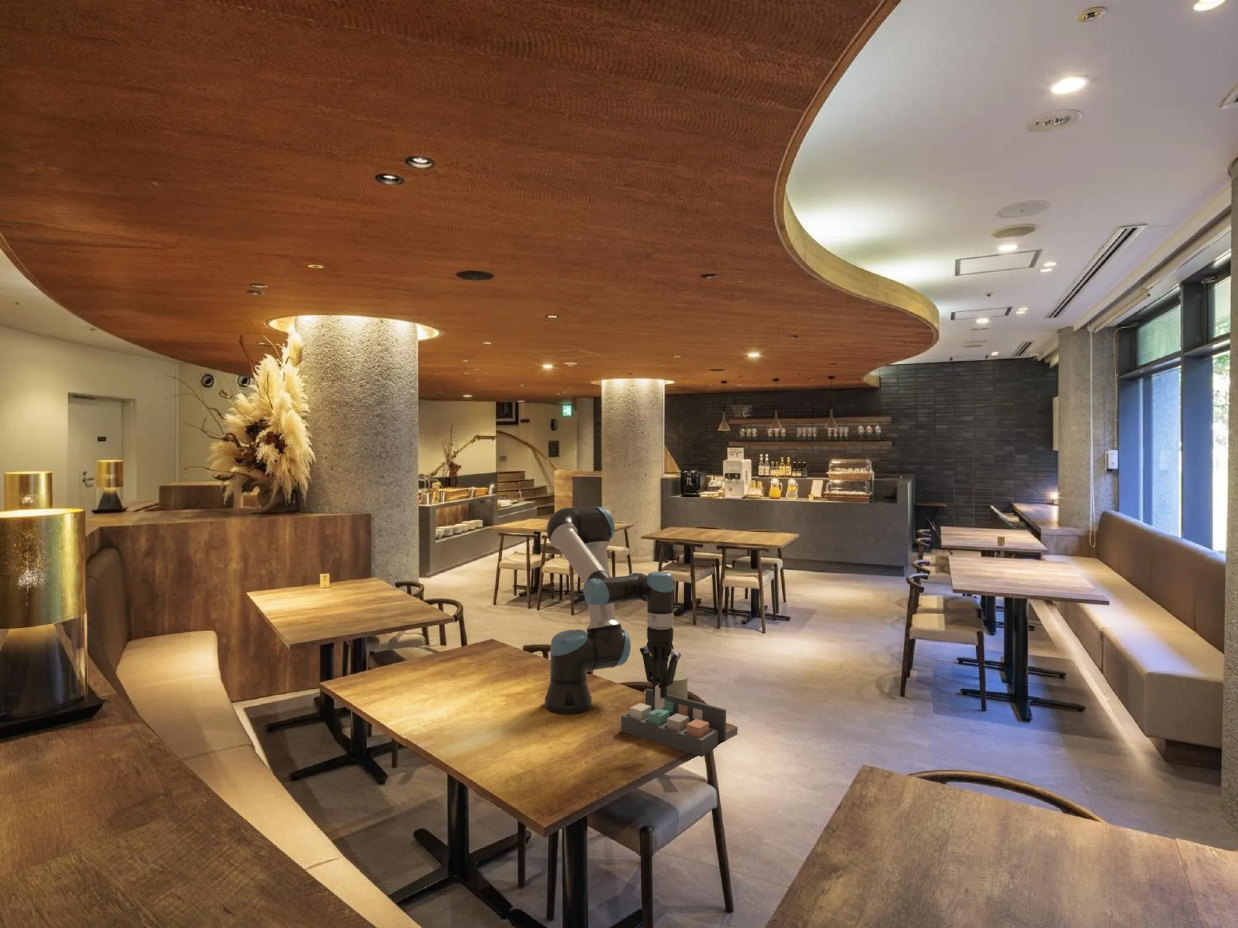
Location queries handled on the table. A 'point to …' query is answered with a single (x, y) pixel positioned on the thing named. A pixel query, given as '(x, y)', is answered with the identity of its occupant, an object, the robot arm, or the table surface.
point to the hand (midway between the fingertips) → (659, 707)
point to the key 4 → (698, 728)
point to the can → (678, 685)
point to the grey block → (677, 722)
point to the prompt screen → (692, 711)
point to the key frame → (670, 736)
